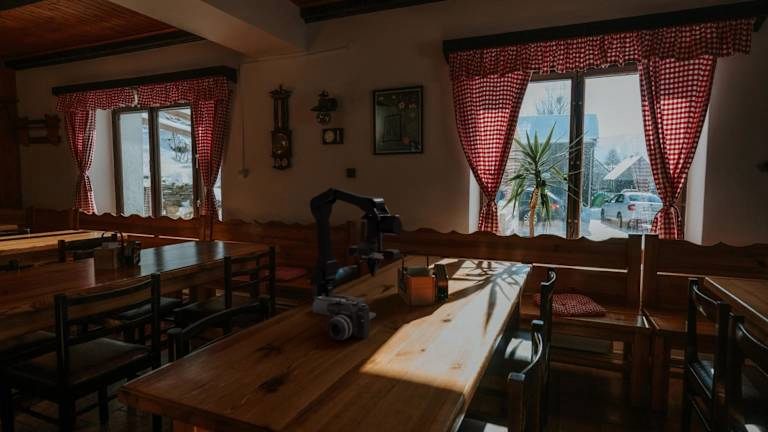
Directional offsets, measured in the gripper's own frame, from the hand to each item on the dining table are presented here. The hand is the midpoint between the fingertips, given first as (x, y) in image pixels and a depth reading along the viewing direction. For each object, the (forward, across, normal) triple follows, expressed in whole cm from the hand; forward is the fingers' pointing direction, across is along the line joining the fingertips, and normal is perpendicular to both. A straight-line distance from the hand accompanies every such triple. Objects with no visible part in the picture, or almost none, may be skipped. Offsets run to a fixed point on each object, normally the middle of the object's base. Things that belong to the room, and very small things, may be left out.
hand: (373, 276), depth 161 cm
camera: (+12, +6, -29) cm, 32 cm away
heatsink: (+12, -10, -9) cm, 18 cm away
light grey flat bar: (+8, -9, -9) cm, 15 cm away
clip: (+11, -2, -9) cm, 14 cm away
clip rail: (+12, +1, -9) cm, 15 cm away
